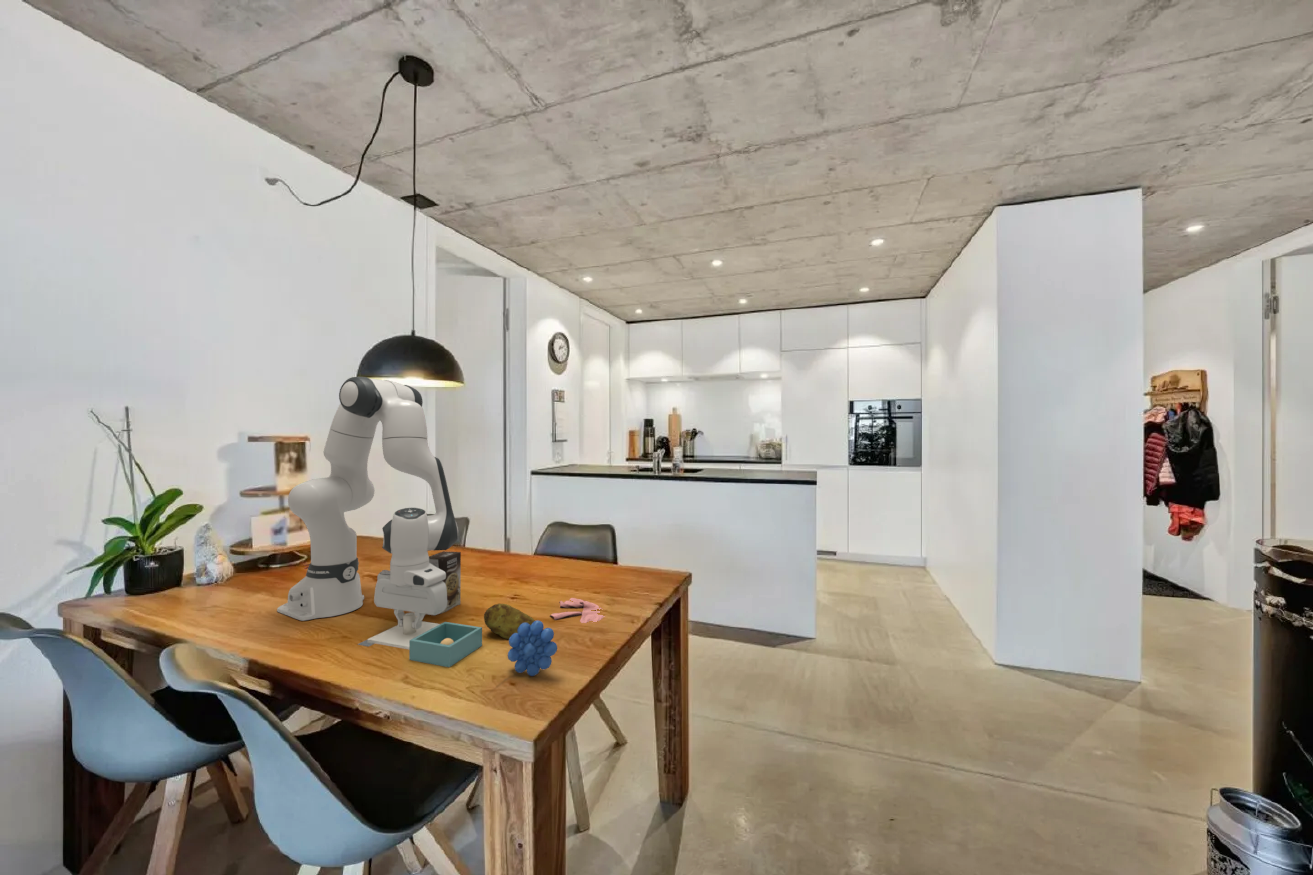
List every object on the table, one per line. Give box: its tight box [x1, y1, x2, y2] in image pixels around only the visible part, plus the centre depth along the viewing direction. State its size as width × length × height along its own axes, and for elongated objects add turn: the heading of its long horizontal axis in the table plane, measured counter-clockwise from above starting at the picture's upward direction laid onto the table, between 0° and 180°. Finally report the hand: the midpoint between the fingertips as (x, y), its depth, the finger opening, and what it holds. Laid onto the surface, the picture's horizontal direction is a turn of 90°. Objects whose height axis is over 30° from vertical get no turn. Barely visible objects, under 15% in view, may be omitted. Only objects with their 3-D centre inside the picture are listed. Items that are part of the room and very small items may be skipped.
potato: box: [483, 603, 536, 640], centre depth 119 cm, size 8×13×8 cm, turn 68°
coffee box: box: [429, 550, 462, 614], centre depth 137 cm, size 9×6×16 cm
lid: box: [366, 611, 441, 650], centre depth 118 cm, size 13×13×5 cm
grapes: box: [507, 619, 558, 677], centre depth 101 cm, size 12×7×12 cm, turn 75°
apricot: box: [440, 638, 454, 645], centre depth 109 cm, size 3×3×3 cm
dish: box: [408, 621, 483, 668], centre depth 109 cm, size 11×11×5 cm
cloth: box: [549, 597, 605, 624], centre depth 137 cm, size 20×22×2 cm
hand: (409, 626), depth 118 cm, fingers closed on lid, 3 cm apart
